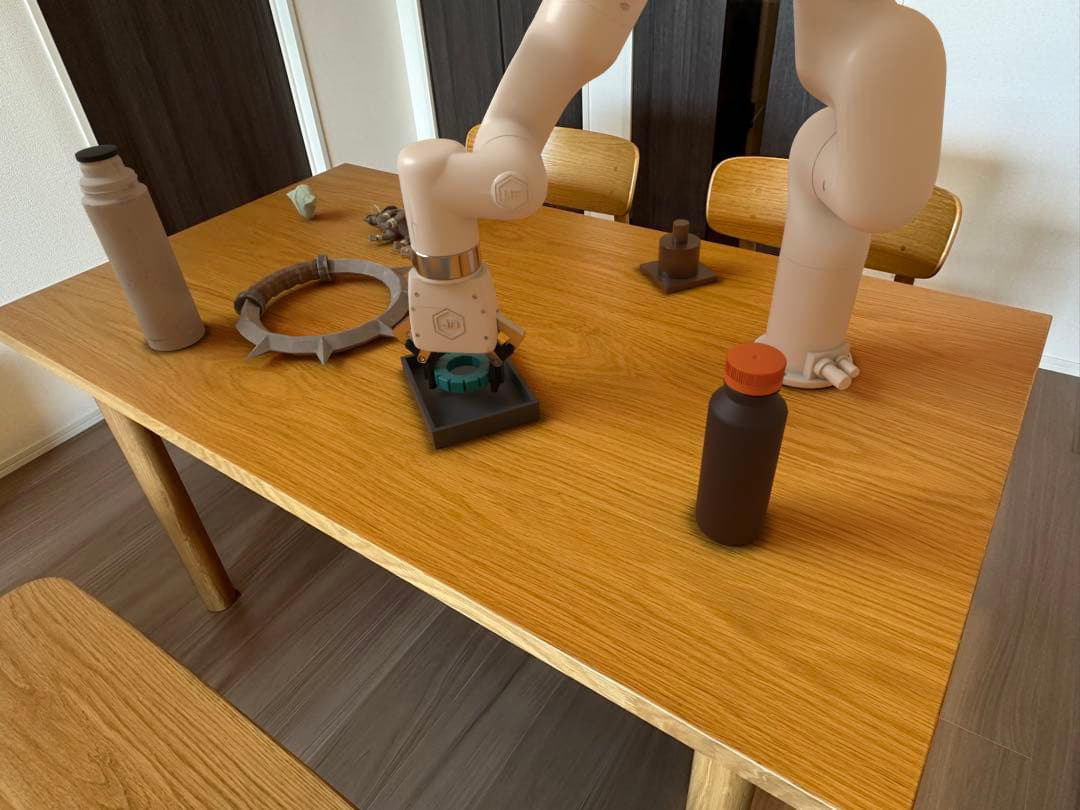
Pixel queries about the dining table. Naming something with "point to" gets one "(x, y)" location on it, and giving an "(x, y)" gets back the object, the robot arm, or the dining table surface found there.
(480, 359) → the ring
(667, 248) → the ring stand
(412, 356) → the tray
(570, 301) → the dining table surface
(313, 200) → the pale green irregular chunk
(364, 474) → the dining table surface
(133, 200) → the thermos bottle
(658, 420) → the dining table surface
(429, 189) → the robot arm
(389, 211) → the figurine
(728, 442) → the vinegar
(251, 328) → the spiked ring
